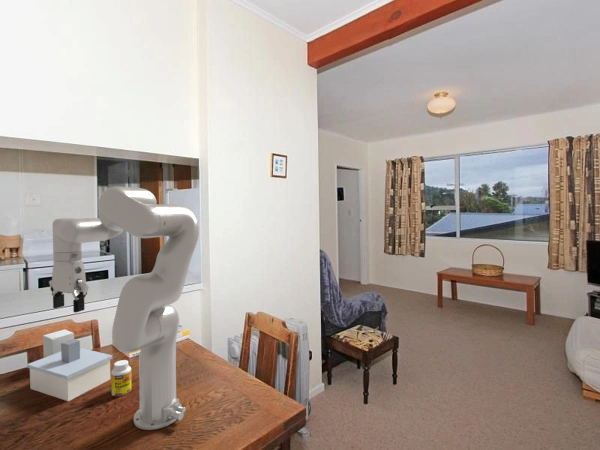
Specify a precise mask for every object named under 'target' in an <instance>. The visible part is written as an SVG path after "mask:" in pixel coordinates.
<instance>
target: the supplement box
mask: <svg viewBox="0 0 600 450" xmlns="http://www.w3.org/2000/svg"><path fill="white" fill-rule="evenodd" d="M71 339H75V333H74V332H72V331H69V330H67V329H61V330H58V331H54V332H51V333H47V334H44V335H42V345H43V347H42V349H43V358H45V357H48V356H50V355H53V354H55V353H58V352H61V343H62V342H65V341H68V340H71Z"/></svg>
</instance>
